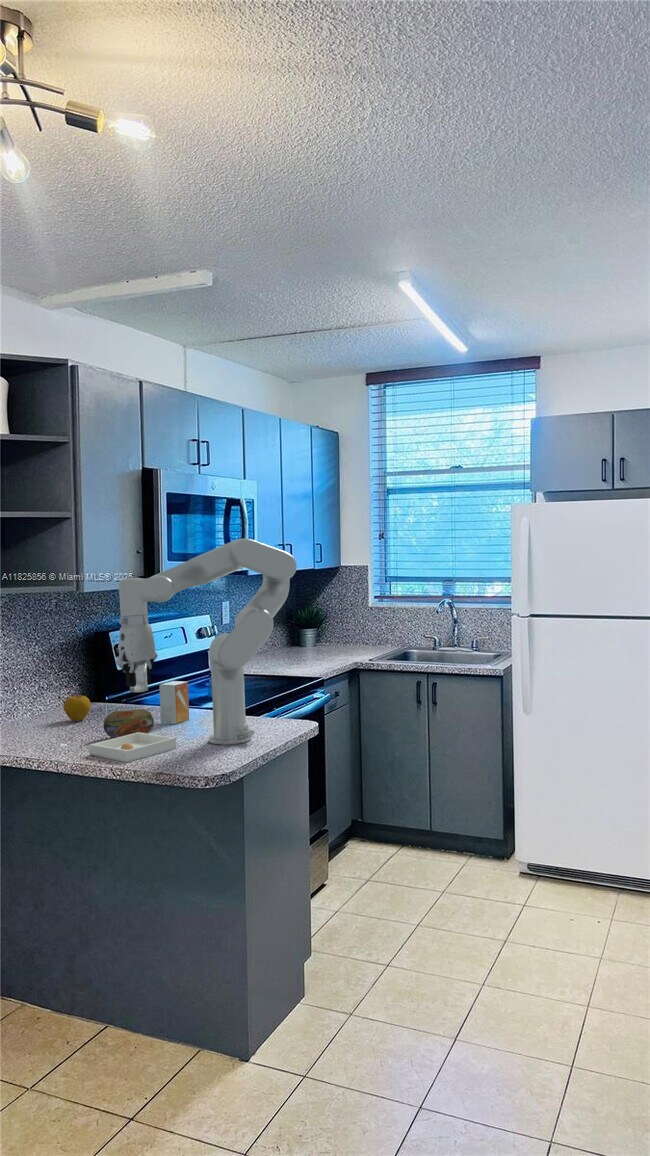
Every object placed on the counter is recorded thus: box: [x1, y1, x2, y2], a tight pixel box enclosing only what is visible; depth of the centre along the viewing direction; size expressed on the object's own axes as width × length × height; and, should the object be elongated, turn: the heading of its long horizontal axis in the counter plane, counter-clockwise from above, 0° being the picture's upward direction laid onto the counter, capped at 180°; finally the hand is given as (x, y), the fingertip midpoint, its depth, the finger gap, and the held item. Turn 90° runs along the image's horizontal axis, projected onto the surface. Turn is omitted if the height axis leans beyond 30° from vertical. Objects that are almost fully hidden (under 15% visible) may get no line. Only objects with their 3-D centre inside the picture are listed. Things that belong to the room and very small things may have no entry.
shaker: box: [129, 660, 149, 693], centre depth 240 cm, size 5×5×9 cm
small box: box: [159, 680, 190, 725], centre depth 280 cm, size 8×6×13 cm
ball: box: [121, 743, 134, 750], centre depth 232 cm, size 4×4×4 cm
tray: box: [88, 732, 177, 763], centre depth 239 cm, size 16×18×3 cm
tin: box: [103, 708, 155, 739], centre depth 260 cm, size 15×3×8 cm, turn 101°
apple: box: [63, 694, 92, 722], centre depth 287 cm, size 9×9×9 cm
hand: (138, 683), depth 241 cm, fingers closed on shaker, 5 cm apart
